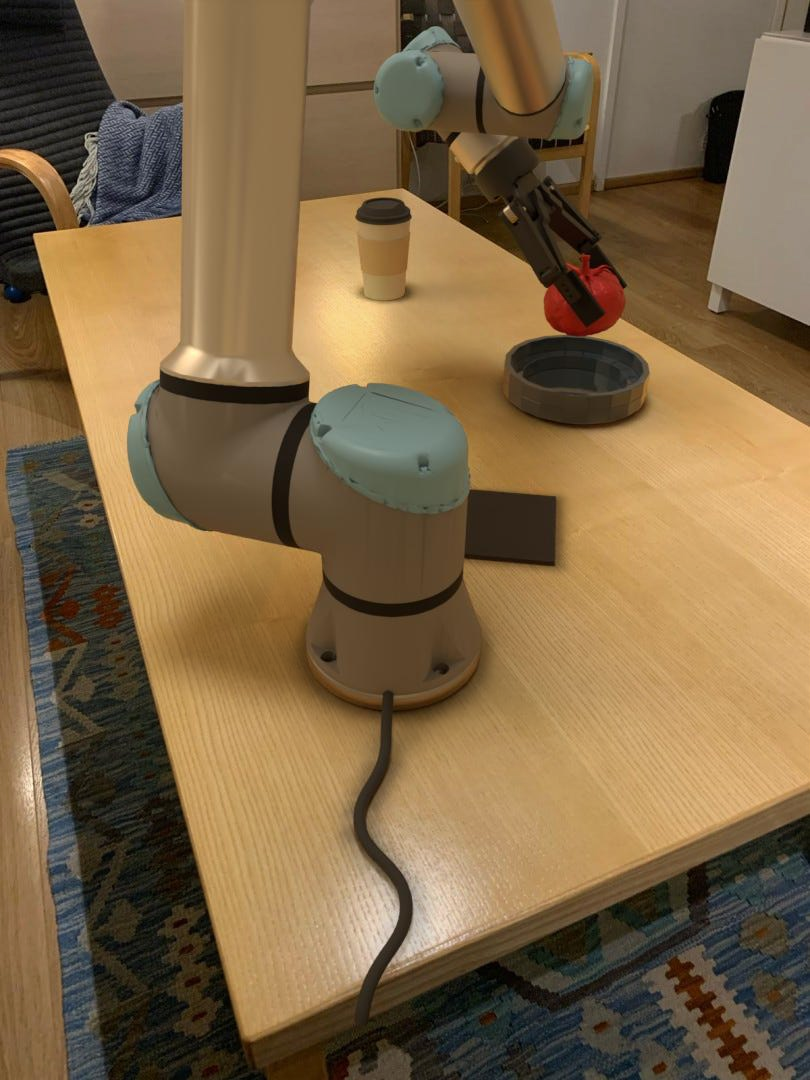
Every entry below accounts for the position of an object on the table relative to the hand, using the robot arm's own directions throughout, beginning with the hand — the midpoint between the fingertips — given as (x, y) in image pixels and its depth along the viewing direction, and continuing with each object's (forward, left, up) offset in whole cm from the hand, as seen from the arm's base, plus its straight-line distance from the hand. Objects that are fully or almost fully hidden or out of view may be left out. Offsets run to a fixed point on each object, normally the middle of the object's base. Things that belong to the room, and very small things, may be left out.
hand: (607, 305), depth 108 cm
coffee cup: (+34, +34, -13) cm, 50 cm away
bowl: (+1, +3, -13) cm, 13 cm away
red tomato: (+1, +3, -4) cm, 5 cm away
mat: (-31, +11, -13) cm, 35 cm away
